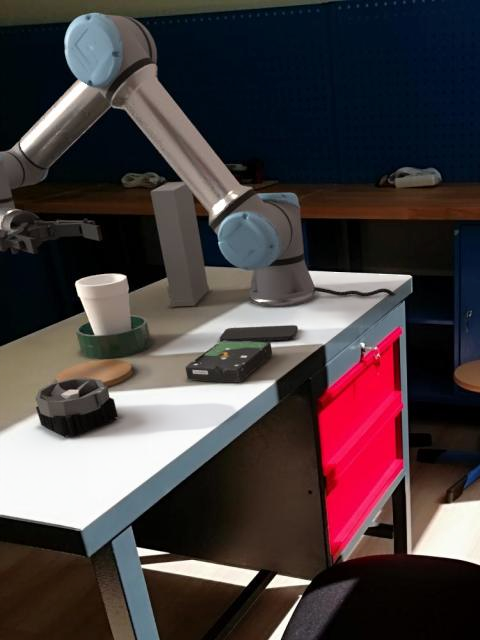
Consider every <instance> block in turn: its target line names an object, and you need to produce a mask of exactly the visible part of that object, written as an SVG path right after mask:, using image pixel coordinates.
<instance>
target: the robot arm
mask: <svg viewBox="0 0 480 640" xmlns="http://www.w3.org/2000/svg"><path fill="white" fill-rule="evenodd" d="M63 42H64V43H63V44H64V55H65V59H66V63H67V66H68V68H69V69H70V71H71V73H72V74H73V76H75V78H76V79H77V80H76V81H75V82H74V83H72V85H71V86H70V87H69V88H68V89H67V90H66V91H65V92H64V94H62V96H60V97H59V98H58V100H57V101H55V103H54V104H53V105H51V107H50V108H49V109H48V110H47V111H46V112H45V113H44V114H43V115H42V116H41V117H40V118H39V119H38V120H37V121H36V122H35V124H33V125H32V127H31V128H30V129H29V130H27V132H26V133H25V134H24V135H23V136H22V137H21V138H20V139H19V141H18V142H16V143H15V145H14V146H12V148H10V149H8V150H4V151H0V252H2V253H3V252H6V251H8V249H9V248H10V250H11V253H12V255H16V254H19V252H20V251H22V252H24V253H25V252H26V253H29V254H33V255H35V254H39V252H38V249H37V248H39V247H40V246H41V245H42V244H43V243H44V242H46V241H53V240H58V239H60V238H64V237H65V238H67V237H83V238H85V239H90V240H94V241H99V242H101V241H104V238H103V234H102V229H101V225H96V221H95V220H88V218H84V219H83V220H63V219H56V220H50V221H45V220H42V219H41V218H40V217H39V216H38V215H37V214H35V213H33V212H31V211H27V210H23V209H18V208H16V205H15V201H14V198H13V195H12V190H14V189H18V188H21V187H26V186H34V185H36V184H38V183H40V182H42V181H43V180H45V179H46V178H47V176H48V173H49V169H50V167H51V166H52V165H53V164H54V163H55V162H56V161H57V160H58V159H59V158H60V157H61V156H62V155H63V154H64V153H65V152H66V151H68V150H69V148H70V147H71V146H72V145H74V144H75V142H77V140H78V139H80V138H81V136H83V135H84V134H85V133H86V132H87V130H89V129H90V128H91V127H92V126H93V125H94V124H95V123H96V122H97V121H98V120H99V119H100V118H101V117H102V116H103V115H104V114H105V113H106V112H108V110H109V109H110V108H111V107H112V108H113V109H120V110H123V111H125V112H126V113H127V115H128V116H130V118H131V119H132V120H133V122H134V123H135V124H136V126H137V127H138V128H139V129H140V130H141V131H142V133H143V134H144V135H145V136H146V137H147V139H148V140H149V141H150V142H151V144H152V145H153V146H154V147H155V149H156V150H157V151H158V153H159V154H161V156H162V157H163V158H164V160H165V161H166V162H167V163H168V165H169V166H170V167H171V168H172V170H173V171H174V172H175V173H176V174H177V176H178V177H179V178H180V180H181V181H182V182H184V183H185V184H186V185H187V187H188V188H189V189H190V190H191V192H192V194H193V196H195V198H196V199H197V200H198V201H199V203H200V204H201V205H202V207H203V208H204V209H205V211H207V213H208V226H209V227H210V228H211V229H212V230H213V232H214V233H215V234H216V235H217V240H218V242H217V243H218V247H219V250H220V252H221V254H222V255H223V257H224V259H226V260H227V261H228V263H230V264H231V265H233V266H234V267H236V268H238V269H241V270H244V271H252V275H251V282H250V287H249V300H250V302H251V303H252V304H254V305H257V306H261V307H272V308H275V307H277V308H278V307H288V306H295V305H300V304H304V303H308V302H310V301H311V300H313V299H315V298H316V296H317V293H316V292H318V293H325V294H330V295H334V296H340V297H343V296H349V295H350V296H351V295H353V296H354V295H355V296H359V297H362V298H363V297H364V298H365V297H366V298H367V297H372V296H375V295H378V294H382V293H384V294H385V293H386V294H388V295H390V296H392V297H393V296H396V294H395V292H393V290H391V289H389V288H384V287H383V288H378V289H375V290H372V291H368V292H364V291H363V292H362V291H359V290H345V291H337V290H333V289H329V288H323V287H317V286H315V283H314V280H313V279H312V276H311V274H310V271H309V269H308V267H307V264H306V260H305V251H304V241H303V240H304V239H303V231H302V219H301V206H300V203H299V198H298V196H297V194H296V193H294V192H265V193H257V192H256V190H255V189H254V188H253V187H252V186H247V185H243V184H240V182H239V181H238V180H237V179H236V178H235V176H234V174H232V173H231V171H230V170H229V169H228V167H227V166H226V165H225V163H224V162H223V161H222V160H221V158H220V157H219V156H218V155H217V153H216V152H215V150H213V148H212V147H211V146H210V144H209V143H208V142H207V140H206V139H205V137H203V135H202V134H201V133H200V131H199V130H198V129H197V128H196V126H195V125H194V124H193V123H192V122H191V120H190V119H189V118H188V116H187V115H186V114H185V113H184V111H183V110H182V109H181V108H180V106H179V105H178V103H176V101H175V100H174V99H173V97H172V96H171V95H170V93H168V91H167V90H166V89H165V87H164V86H163V85H162V83H161V82H160V81H159V79H158V69H159V68H158V66H157V63H158V62H157V61H158V51H157V46H156V43H155V40H154V38H153V36H152V35H151V33H150V31H149V30H148V29H147V28H146V26H145V25H144V24H143V23H141V22H140V21H139V20H137V19H134V18H133V17H130V16H127V15H113V14H103V13H99V12H92V13H87V14H82V15H79V16H78V17H76V18H75V19H73V21H72V22H71V23H69V26H68V27H67V29H66V32H65V36H64V41H63Z"/></svg>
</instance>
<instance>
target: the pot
mask: <svg viewBox="0 0 480 640" xmlns="http://www.w3.org/2000/svg"><path fill="white" fill-rule="evenodd" d="M130 317H131V329H132V330H129V331H126V332H121V333H116V334H109V335H95V334H94V332H93V329H92V327H91V324H90V322H89V321H86V322H84V323H82V324H80V325H78V327H76V329H75V333H76V336H77V340H78V344H79V347H80V352H81V354H82V355H83V356H84V357H86V358H90V359H96V360H108V359H118V358H123V357H128V356H131V355H135V354H138V353H141V352H143V351H145V350H147V349H148V348H149V347H150V346H151V345H152V339H151V335H150V334H151V333H150V329H149V324H148V321H147V319H146V318H145V317H143V316H140V315H131V314H130Z"/></svg>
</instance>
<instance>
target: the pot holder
mask: <svg viewBox="0 0 480 640" xmlns="http://www.w3.org/2000/svg"><path fill="white" fill-rule="evenodd" d="M132 374H133V368H132V365H131V363H130V362H128V361H125V360H122V359H96V360H90V361H85V362H81V363H78V364H75V365H71V366H69V367H67V368H65V369H63V370H61V371H59V372H58V374H57V375H56V377H55V379H56V382H60V381H64V380H68V379H77V378H90V379H97V380H102V382H103V385H104V386H107V387H111V386H114V385H117V384H119V383H121V382H123V381H125V380H127V379H128V378H130V377H131V376H132Z"/></svg>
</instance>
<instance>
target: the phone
mask: <svg viewBox="0 0 480 640" xmlns="http://www.w3.org/2000/svg"><path fill="white" fill-rule="evenodd" d="M298 331H299V326H298V325H295V324H290V325H289V324H288V325H267V326H266V325H265V326H245V327H244V326H243V327H229V328H225V330H224V331H223V332H222V333H221V335H220V336H219V343H220V342H223V341H224V340H227V341H235V342H245V341H252V342H253V341H254V342H255V341H256V342H268V341H285V340H286V341H287V340H293V339H294V338H295V337H296V335H297V333H298Z"/></svg>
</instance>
